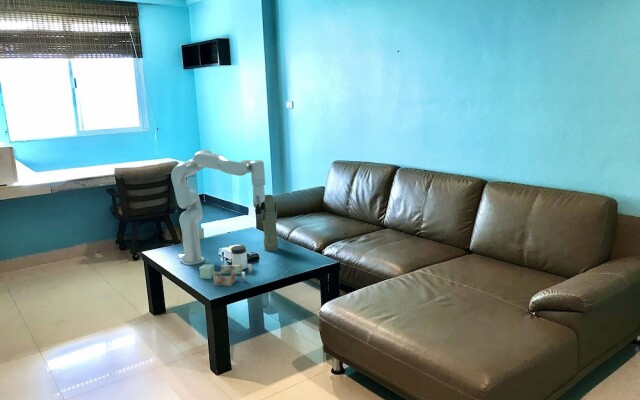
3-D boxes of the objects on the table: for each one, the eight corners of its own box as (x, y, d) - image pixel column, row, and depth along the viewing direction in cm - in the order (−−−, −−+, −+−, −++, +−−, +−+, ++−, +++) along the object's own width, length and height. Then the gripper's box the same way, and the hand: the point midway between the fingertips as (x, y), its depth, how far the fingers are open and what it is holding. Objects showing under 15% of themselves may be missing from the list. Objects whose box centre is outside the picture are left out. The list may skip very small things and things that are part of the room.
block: (200, 278, 269) (199, 268, 267) (204, 274, 275) (203, 264, 273) (210, 278, 268) (209, 268, 266) (214, 274, 274) (213, 264, 272)
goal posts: (241, 281, 261) (240, 272, 260) (249, 272, 274) (248, 263, 273) (245, 281, 261) (244, 273, 260) (252, 272, 274) (252, 263, 273)
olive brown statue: (283, 248, 314) (279, 194, 306) (269, 253, 305) (265, 197, 298) (273, 245, 320) (269, 192, 312) (259, 250, 311) (255, 196, 303)
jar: (241, 264, 288) (239, 244, 286) (250, 266, 283) (249, 246, 280) (229, 268, 282) (227, 248, 279) (238, 271, 276) (237, 250, 274)
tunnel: (209, 285, 258) (209, 277, 257) (221, 272, 276) (221, 264, 275) (231, 285, 256) (231, 277, 255) (242, 272, 274) (241, 265, 273)
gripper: (255, 179, 287) (257, 208, 291) (248, 185, 270) (250, 215, 274) (268, 179, 286) (270, 208, 290) (261, 185, 269) (263, 215, 273)
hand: (260, 211), depth 282 cm, fingers open, 9 cm apart
